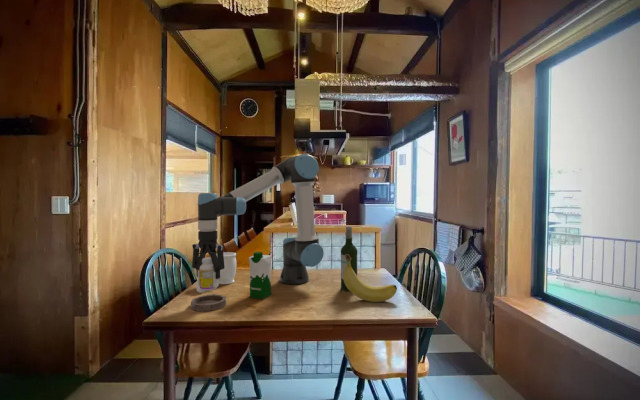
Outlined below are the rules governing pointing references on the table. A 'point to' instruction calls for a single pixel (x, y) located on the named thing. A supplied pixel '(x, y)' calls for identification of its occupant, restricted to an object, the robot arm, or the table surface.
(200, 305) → the dish
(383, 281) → the table surface
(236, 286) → the table surface
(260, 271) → the milk carton
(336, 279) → the table surface
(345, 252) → the wine bottle
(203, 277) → the supplement bottle
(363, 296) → the banana
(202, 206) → the robot arm
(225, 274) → the jar
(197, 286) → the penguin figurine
